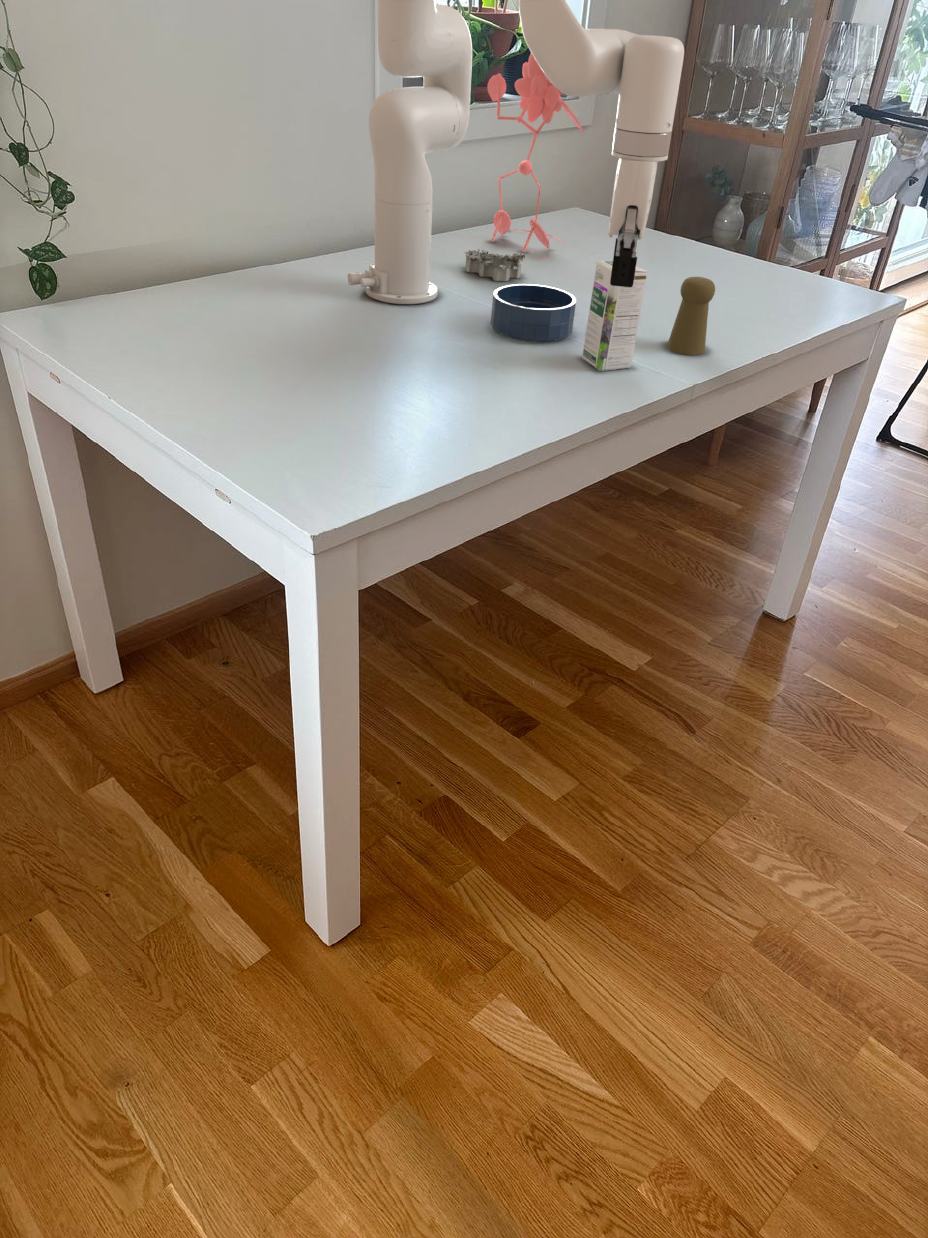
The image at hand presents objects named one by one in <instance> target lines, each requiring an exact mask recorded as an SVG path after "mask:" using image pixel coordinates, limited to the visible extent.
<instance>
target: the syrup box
mask: <svg viewBox="0 0 928 1238" xmlns="http://www.w3.org/2000/svg"><path fill="white" fill-rule="evenodd" d="M595 263H596V264H595V271H594V277H593V282H592V289H591V290H592V291H591V296H590V304H589V310H588V316H587V322H586V330H585V334H584V343H583V348H582V354H581V355H582V356H581V358H582V360H584V361H586V363H588V364H590V365H592V367H594V368H595V369H597V371H599V372H603V371H614V370H621V369H622V370H623V369H631V367H632V363H633V357H634V351H635V346H636V340H637V335H638V330H639V326H640V325H639V324H640V319H641V314H642V306H643V302H644V297H645V291H646V285H647V280H648V274H649V270H647V269H644V268H641V267H639V266H638V265H636V269H635V276H634V282H633V286H632V287H621V286H612V285H611V284H610V279H611V272H612V265H613V259H609V260H601V261H597V262H595Z"/></svg>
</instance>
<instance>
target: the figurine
mask: <svg viewBox="0 0 928 1238" xmlns="http://www.w3.org/2000/svg"><path fill="white" fill-rule="evenodd" d="M486 87H487V94H488V95H489V97H490V99H491V101H492V102H493V103H494V102H496V117H497V120H503V121H506V120H507V121H517V123H521V124H522V125H524V127H526V129H528V130H529V131H530V132H531V133H532V134H533V138H532V142H531V145H530V148H529V150H528V155H527V158H526V159H525V160H522V161H521V162H520V163H519V164H518V169H515V170H513V171H511V172H508V173H507V174H504V175H501V176H499V177H498V181H497V182H498V191H499V201H500V203H499V204H500V210H498V211H496V213H494V215H493V216H494V217H493V221H492V222H493V225H494V228H495V229H494V231H493V234H492V237H491V239H490V242H491V243H494V241H495V238H496V236H497V233H499V234H500V235H501V236H502V237H503V236H504V235H506V234H507V232H508V231H515V229H513V228H511V226H512V220H511V216H510V215H509V214H508V212H506V211H505V210H504V207H503V196H502V185H501V184H502V183H501V179H504V178H506V177H509V176H511V175H513V174H516V173H518V172H519V174H521V175H523V176H528V175H530V174H531V176H532V177H533V179H534V182H535V183H536V184H537V186H538V194H537V203H536V210H535V218H534V219H532V218H531V219H530V220H529V225H530V230H528V229H517V232H518V231H519V232H526V233H527V232H528V236H527V238H526V241H525V244H524V245H523V248H522V252H523V253H526V251H527V247H528V245H529V242H530V240H531V237H532V235H533V234H534V236H535V237H536V238H537V239H538V240H539V242H541V244H542V245H543V246H544V247H546V248H547V249H548V250H549V249H550V241H549V240H550V239H549V238H548V237H550V238H553V239H556V240H557V241H561V242H563V243H565V241H563V240H562V239H560V238H558V237H555V236H553V235H552V234H548V233H546V231H545V230H544V229H543V227H542V226H541V225H540V223H539V222H537V220H538V213H539V207H540V199H541V191H542V186H541V184H540V183H539V181H538V179H537V177H536V175H535V174H534V172H533V164H532V163H531V161H530V158H531V154H532V151H533V148H534V146H535V143H536V139H537V137H538V135H539V133H540V132H541V130H542V129H543V127H544V126H545V125H546V124H550V123H551V122H552V121H553V117H554V113H555V112H560V111H562V109H563V110H564V111H565V113H566V114H567V115H568V117H569V118H570V120H571V121H572V122H573V123H574V124H575V126H576V127H577V128H578V129H579V130H580V132H582V133H584V132H585V130H584V128H583V127H582V125H581V122H580V121H579V120H578V119H577V117H576V116H575V114H574V113H573V111H572V110H571V109H570V107H569V106H568V105H567V104H566V103H565V101H564V100H563V99H562V97H561V96H562V95H565V94H564V93H562V92H560V91H559V90H558V89H557V88H556V87H555V86H554V85H553V84H552V83H551V82H550V80H549V79H548V78H547V76H546V75H545V74H544V72H543V71H542V69H541V67H540V66H539V64H538V63H537V61H536V59H535V58H534V56H533V54H532V53H531V52H530V55H529V56H528V61H525V62H524V63H522V77H521V78H518V79H517V80H516V81H514V89H515V91H516V92H517V94H518V95H519V96H520V98H521V99H520V102H519V107H520V109H521V110H522V111H521V114H520V115H518V116H503V115H502V116H501V99H502V98H503V97H504V95H506V91H507V83H506V79H505V78H504V77H503V76H502V74H501V73H497V74H494V75H492V76H491V78H490V79H489V80H488V82H487V86H486ZM526 112H527V115H526V116H527V117H526V118H527V121H528V122H529V123H528V122H527V121H526V120H525V119H524V116H525V114H526ZM540 116H541V117H542V122H541V124H540V125H539V127H538V128H537V129H536V128H534V127H533V126H532V125H531V124H532V123H534V122H536V121H537V120H538V119H539V118H540ZM530 123H531V124H530ZM546 258H549V256H542V257H541V259H546Z"/></svg>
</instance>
